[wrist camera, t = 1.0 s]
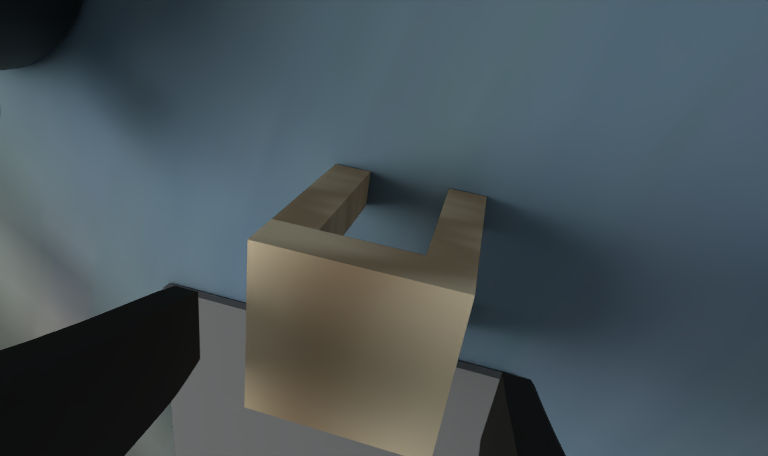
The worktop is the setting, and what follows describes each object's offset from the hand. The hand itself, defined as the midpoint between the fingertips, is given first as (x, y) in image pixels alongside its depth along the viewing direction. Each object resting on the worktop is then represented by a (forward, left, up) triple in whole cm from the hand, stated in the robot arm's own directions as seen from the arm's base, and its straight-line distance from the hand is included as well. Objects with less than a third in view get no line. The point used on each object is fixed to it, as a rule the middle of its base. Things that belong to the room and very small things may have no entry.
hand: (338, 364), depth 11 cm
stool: (0, 0, -6) cm, 6 cm away
